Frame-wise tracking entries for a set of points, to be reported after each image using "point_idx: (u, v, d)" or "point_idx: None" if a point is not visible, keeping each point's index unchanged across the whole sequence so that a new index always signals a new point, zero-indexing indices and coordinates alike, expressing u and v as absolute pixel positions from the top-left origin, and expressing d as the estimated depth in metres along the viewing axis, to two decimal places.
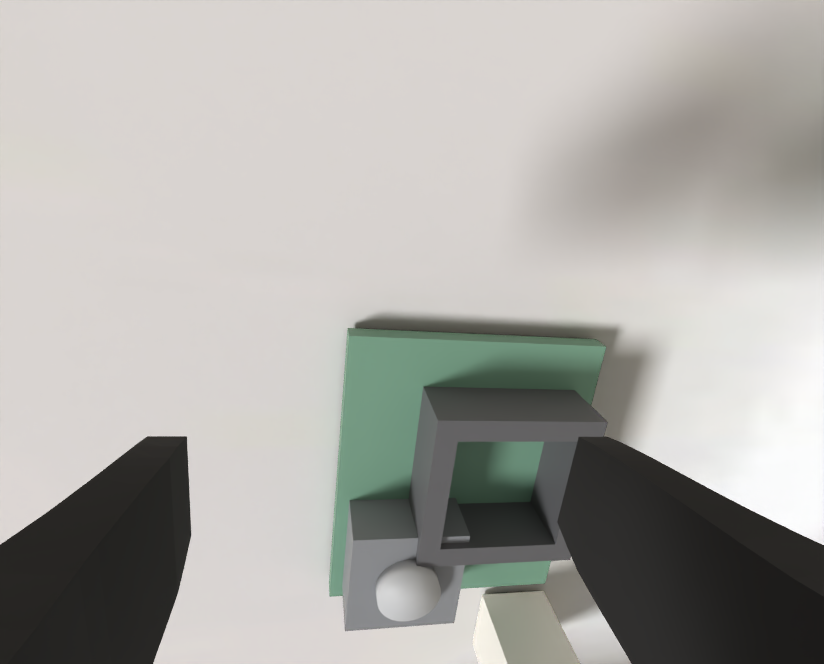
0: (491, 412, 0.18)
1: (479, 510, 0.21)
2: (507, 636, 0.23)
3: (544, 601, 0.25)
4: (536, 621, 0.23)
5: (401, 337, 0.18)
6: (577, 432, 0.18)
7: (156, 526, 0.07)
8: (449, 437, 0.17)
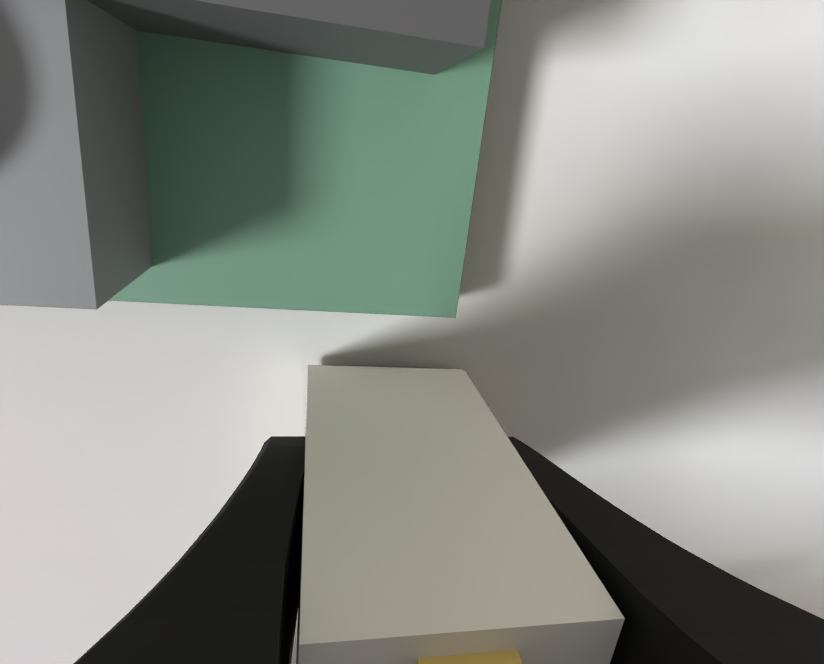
0: None
1: None
2: (335, 425, 0.08)
3: (461, 382, 0.10)
4: (430, 406, 0.09)
5: None
6: None
7: (300, 521, 0.07)
8: None
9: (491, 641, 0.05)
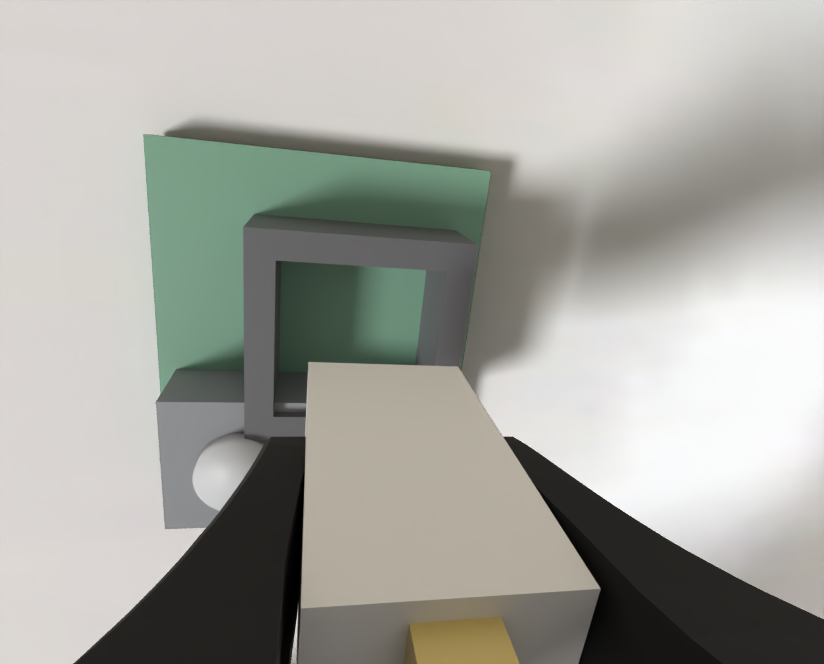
0: (325, 229, 0.14)
1: None
2: (334, 417, 0.08)
3: (455, 378, 0.10)
4: (425, 401, 0.09)
5: (216, 142, 0.14)
6: (439, 257, 0.14)
7: (300, 522, 0.07)
8: (262, 253, 0.13)
9: (477, 608, 0.05)
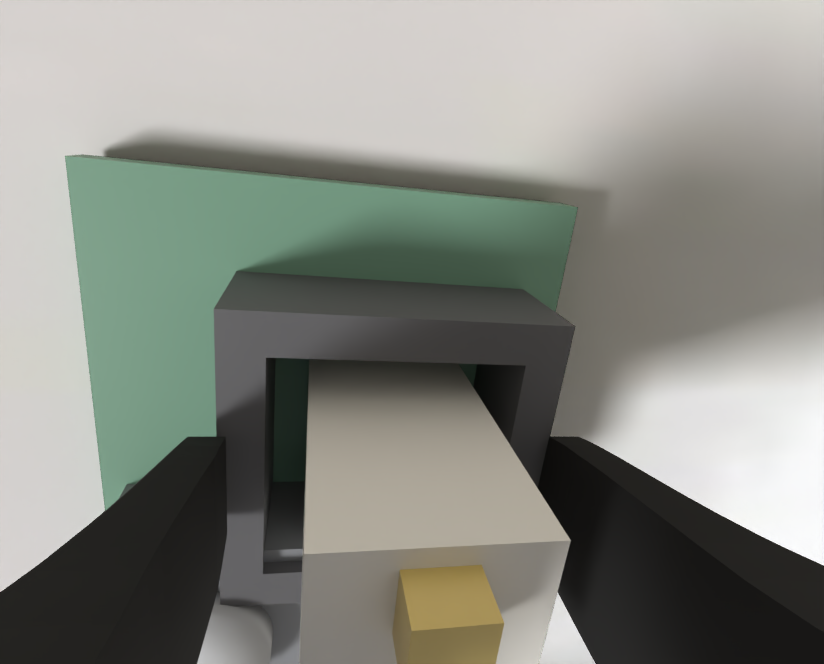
0: (344, 305, 0.09)
1: None
2: (334, 397, 0.09)
3: None
4: (419, 382, 0.10)
5: (177, 167, 0.09)
6: (516, 346, 0.09)
7: (203, 524, 0.07)
8: (245, 348, 0.08)
9: (460, 557, 0.06)
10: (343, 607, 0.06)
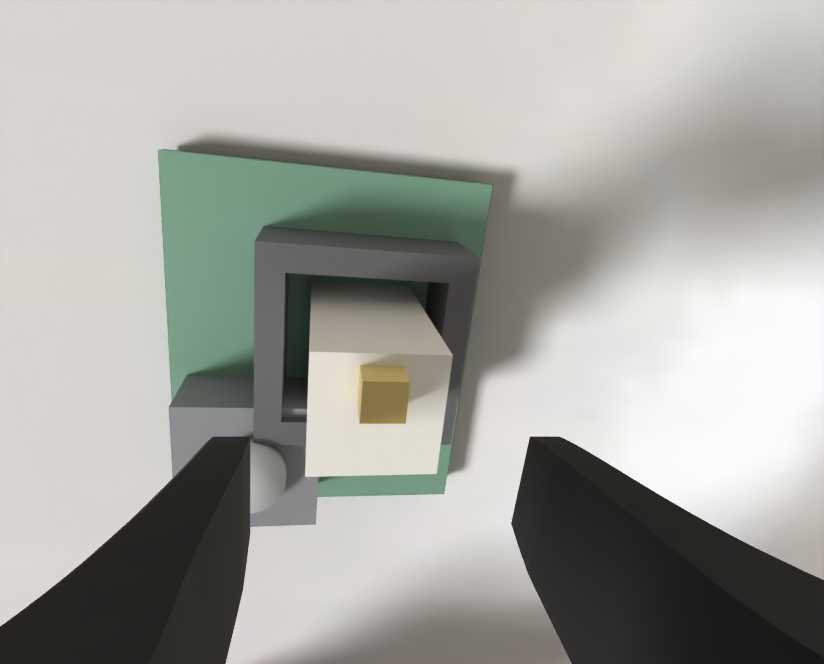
0: (333, 243, 0.14)
1: None
2: (327, 301, 0.14)
3: (404, 290, 0.16)
4: (382, 298, 0.15)
5: (227, 157, 0.15)
6: (442, 270, 0.14)
7: (233, 524, 0.07)
8: (273, 266, 0.14)
9: (392, 360, 0.11)
10: (330, 386, 0.11)
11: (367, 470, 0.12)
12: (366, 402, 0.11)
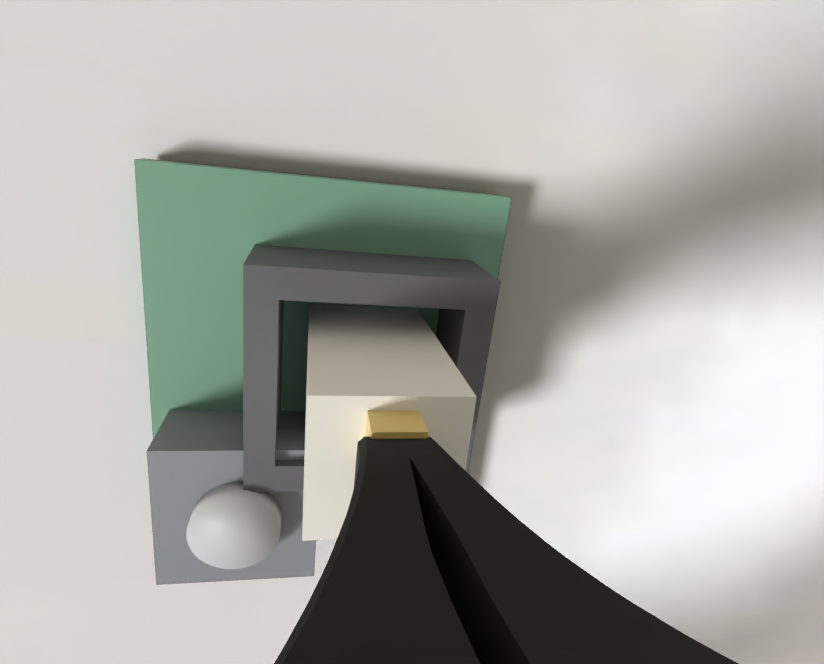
0: (333, 265, 0.13)
1: None
2: (327, 330, 0.13)
3: (413, 314, 0.15)
4: (389, 324, 0.14)
5: (213, 167, 0.13)
6: (457, 295, 0.13)
7: None
8: (264, 292, 0.12)
9: (405, 404, 0.10)
10: (332, 435, 0.10)
11: None
12: None
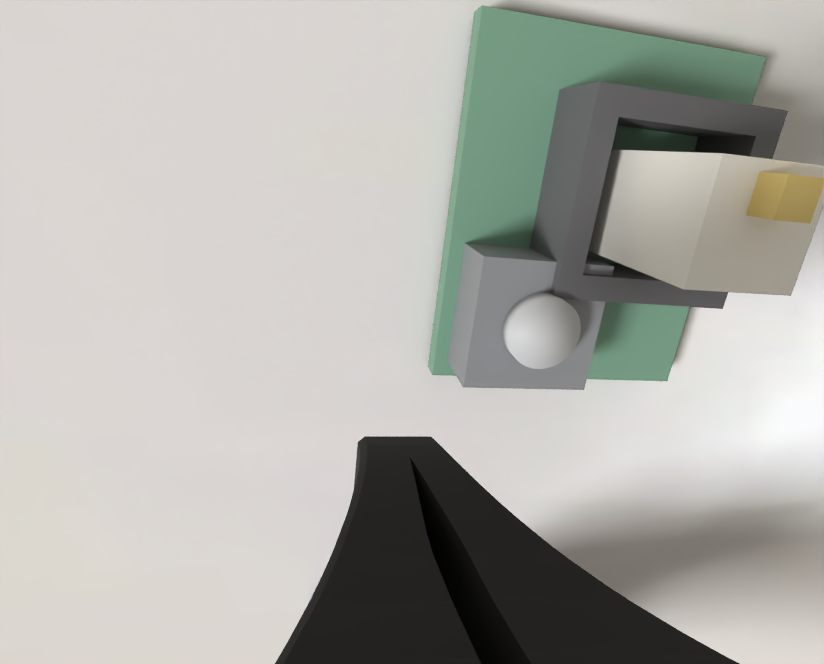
0: None
1: (609, 265, 0.18)
2: None
3: None
4: None
5: (540, 16, 0.15)
6: (753, 122, 0.15)
7: None
8: (610, 109, 0.14)
9: (787, 168, 0.12)
10: (730, 192, 0.12)
11: (736, 286, 0.13)
12: (785, 196, 0.11)
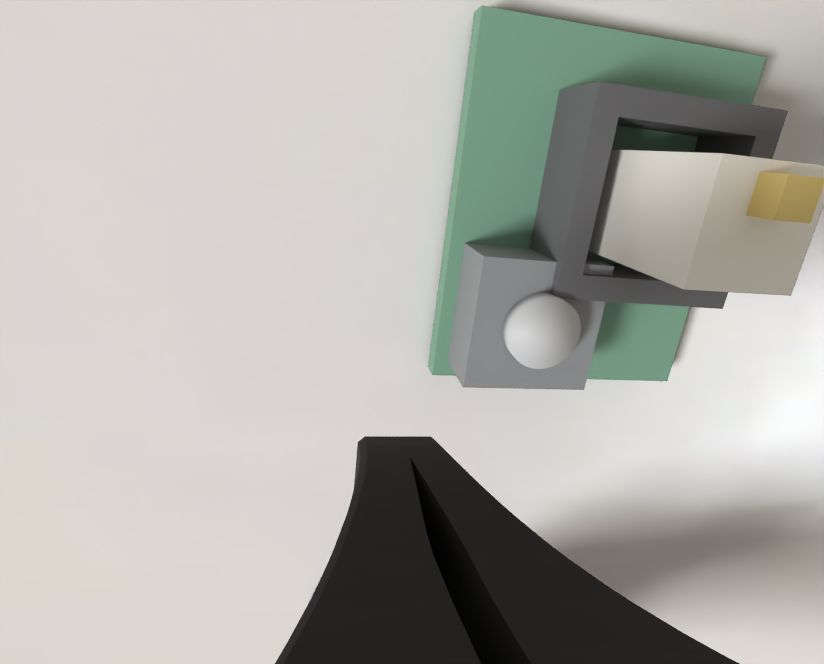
0: None
1: (609, 265, 0.18)
2: None
3: None
4: None
5: (540, 16, 0.15)
6: (753, 122, 0.15)
7: None
8: (610, 109, 0.14)
9: (787, 168, 0.12)
10: (730, 192, 0.12)
11: (736, 286, 0.13)
12: (785, 196, 0.11)
